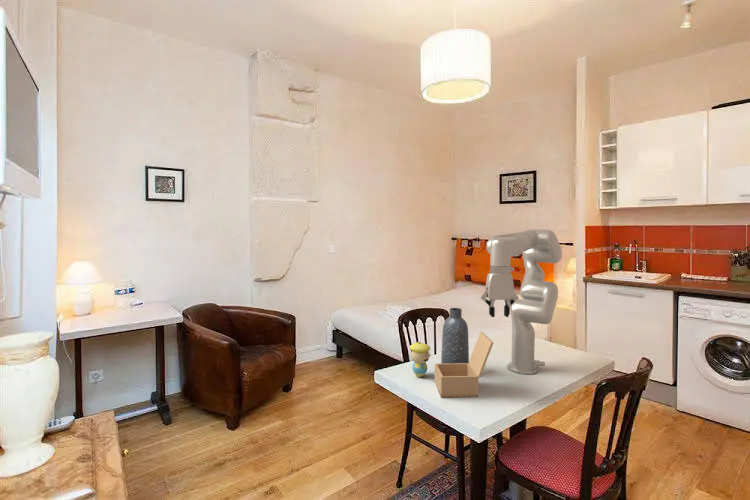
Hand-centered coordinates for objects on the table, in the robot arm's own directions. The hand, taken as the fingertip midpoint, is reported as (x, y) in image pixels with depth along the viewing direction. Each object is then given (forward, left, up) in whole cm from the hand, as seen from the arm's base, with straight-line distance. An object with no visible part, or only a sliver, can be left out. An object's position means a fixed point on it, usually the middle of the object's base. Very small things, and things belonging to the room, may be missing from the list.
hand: (499, 316), depth 153 cm
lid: (+8, 0, -15) cm, 17 cm away
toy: (+29, -14, -30) cm, 44 cm away
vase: (+13, -18, -30) cm, 37 cm away
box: (+17, 0, -29) cm, 34 cm away
